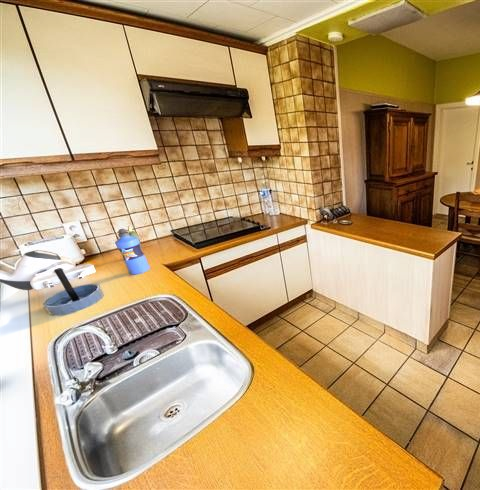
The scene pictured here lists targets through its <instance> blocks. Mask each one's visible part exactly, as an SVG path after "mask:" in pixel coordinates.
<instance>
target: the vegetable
mask: <svg viewBox="0 0 480 490" xmlns="http://www.w3.org/2000/svg"><path fill="white" fill-rule="evenodd" d="M127 232H128V233H129V236H135V237H137V238H138V240H139V244H140V248H141V250H142V251H143V246H142V244H141V240H140V236H139V235H138V233H137V232H136V231H134V230H133V229H132V228H131V226H130V225H129V226H127Z"/></svg>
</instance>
